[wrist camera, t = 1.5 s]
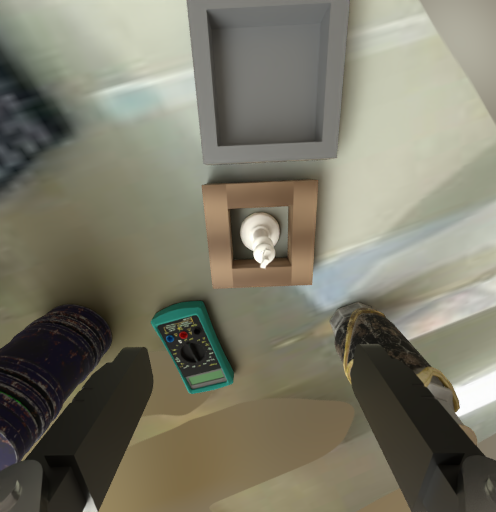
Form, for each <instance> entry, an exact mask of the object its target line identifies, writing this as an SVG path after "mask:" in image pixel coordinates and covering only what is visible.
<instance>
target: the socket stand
mask: <svg viewBox="0 0 496 512" xmlns="http://www.w3.org/2000/svg"><path fill="white" fill-rule="evenodd" d="M202 193H203V202H204V211H205V220H206V230H207V239H208V248H209V257H210V267H211V276H212V285H213V289H217V288H242V287H267V286H293V285H312V277H313V261H314V244H315V228H316V211H317V195H318V180H313V179H304V180H282V181H260V182H238V183H216V184H205V185H202ZM279 206H288V257H287V258H274V259H273V260H272V261H271V262H270V263H268V265H266V268H260V265H261V263H259V262H257V261H256V260H255V259H238V260H234V259H233V245H232V231H231V216H230V209H234V208H256V207H279Z"/></svg>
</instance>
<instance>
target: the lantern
mask: <svg viewBox="0 0 496 512" xmlns="http://www.w3.org/2000/svg"><path fill="white" fill-rule="evenodd" d="M330 324H331V327H332V330H333V333H334V335H335V347H336V351H337V353H338V355H339V357H340V359H341V360H342V362H343V364H344V370H345V374H346V376H347V378H348V380H349V381H350V383H351V372H352V365H353V359H354V353H355V347H356V345H358V344H379V345H381V346H382V347H383V348H384V350H385V351H386V352H387V354H388V355H389V356H390V357H391V359H398V360H399V361H401V362H402V363H403V364H405V365H406V366H408V367H409V368H410V369H412V370H413V371H414V373H415V374H416V375H417V376H418V377H419V378H420V380H421V381H422V382H423V383H424V386H425V387H427V388H428V389H429V390H430V392H431V393H432V394H433V395H434V398H435V399H437V400H438V401H439V402H440V403H441V405H442V406H443V407H444V408H445V409H446V411H447V412H448V413H449V414H450V415H451V416H452V418H453V419H454V420H455V421H456V422H457V424H458V425H459V426H460V427H461V428H462V429H463V431H464V432H465V433H466V434H467V435H468V437H469V438H470V439H471V440H472V441H473V443H474V444H475V445H476V446H477V438H476V435H475V433H474V431H473V430H472V429H471V428H469V427H467V426H465V425H464V424H463V423H462V422H461V420H460V419H459V418H458V416H457V415H456V414H455V412H457V411H458V409H459V408H460V406H459V400H458V398H457V395H456V393H455V391H454V388H453V386H452V384H451V383H450V382H449V381H448V379H447V378H446V377H445V376H444V375H443V374H442V372H441V371H439V370H437V369H435V368H433V367H431V366H430V365H429V363H428V362H427V361H426V360H425V359H424V358H423V357H422V356H421V355H420V353H419V352H418V351H417V350H416V349H415V348H414V347H413V346H412V344H411V343H410V342H409V341H408V340H407V339H406V338H405V337H404V336H403V334H402V333H401V332H400V331H399V330H398V329H397V328H396V327H395V325H394V324H393V323H392V322H390V321H389V320H388V319H387V318H386V317H385V315H384V314H383V313H381V312H379V311H376V310H374V309H373V308H372V307H370V306H367V305H365V304H362V303H359V302H357V303H354V304H351V305H348V306H345V307H342V308H339V309H337V311H336V312H335V314H334V315H333V317H332V318H331V320H330ZM351 384H352V383H351ZM444 386H445V387H444Z"/></svg>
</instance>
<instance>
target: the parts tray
mask: <svg viewBox="0 0 496 512" xmlns="http://www.w3.org/2000/svg"><path fill="white" fill-rule="evenodd" d="M349 5H350V0H187V8H188V18H189V27H190V37H191V47H192V57H193V66H194V76H195V86H196V96H197V105H198V115H199V125H200V135H201V144H202V154H203V164H206V165H222V164H244V163H265V162H287V161H308V160H327V159H333V158H337V148H338V136H339V124H340V112H341V100H342V88H343V76H344V64H345V52H346V40H347V28H348V17H349Z"/></svg>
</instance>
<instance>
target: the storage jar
mask: <svg viewBox="0 0 496 512" xmlns="http://www.w3.org/2000/svg"><path fill="white" fill-rule="evenodd" d="M111 342H112V334H111V330H110V328H109V326H108V324H107V323H106V321H105V320H104V319H103V318H102V317H101V316H100V315H99V314H97V313H96V312H94V311H92V310H90V309H88V308H86V307H83V306H79V305H61V306H58V307H56V308H54V309H52V310H51V311H50V312H48V313H47V314H46V315H44V316H42V317H41V318H39V319H37V320H35V321H34V322H32V323H31V324H30V325H28V326H27V327H26V328H25V329H24V330H23V331H21V332H20V333H18V334H17V335H16V336H14V337H13V339H12V340H11V342H9V343H8V344H6V345H5V346H4V347H2V348H1V349H0V471H1V470H3V469H5V468H6V467H8V466H10V465H12V464H15V463H17V462H20V461H21V460H22V458H23V456H24V455H25V454H26V453H27V452H28V451H29V450H30V448H31V447H32V446H33V444H34V443H35V442H37V441H38V440H39V439H40V437H41V436H42V435H43V433H44V432H45V431H46V430H47V428H48V427H49V425H50V423H51V422H52V421H53V420H54V419H55V418H56V417H57V415H58V413H59V411H60V410H61V408H62V406H63V403H64V402H65V401H66V399H67V398H68V397H69V396H70V394H71V393H72V392H73V391H74V389H75V388H76V387H77V385H79V384H80V383H82V382H83V381H84V380H85V378H86V377H87V376H88V375H89V373H90V372H91V371H92V370H93V369H94V368H95V367H96V366H97V364H98V363H99V361H100V360H101V358H102V356H103V355H104V354H105V353H106V352H107V350H108V349H109V347H110V345H111Z"/></svg>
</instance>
